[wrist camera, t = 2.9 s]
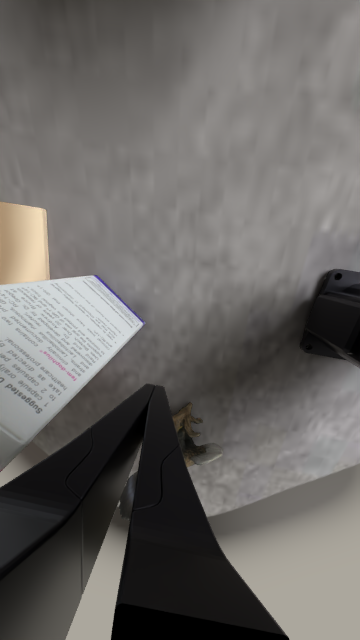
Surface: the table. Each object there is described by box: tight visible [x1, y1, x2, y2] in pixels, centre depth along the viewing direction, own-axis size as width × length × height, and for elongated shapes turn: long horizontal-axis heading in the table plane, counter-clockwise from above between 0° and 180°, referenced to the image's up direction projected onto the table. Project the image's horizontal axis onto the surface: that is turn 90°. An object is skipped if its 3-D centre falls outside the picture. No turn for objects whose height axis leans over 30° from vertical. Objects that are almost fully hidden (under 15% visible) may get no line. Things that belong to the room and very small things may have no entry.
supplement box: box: [0, 275, 145, 472], centre depth 11 cm, size 6×6×12 cm
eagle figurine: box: [119, 402, 223, 521], centre depth 16 cm, size 8×7×9 cm
